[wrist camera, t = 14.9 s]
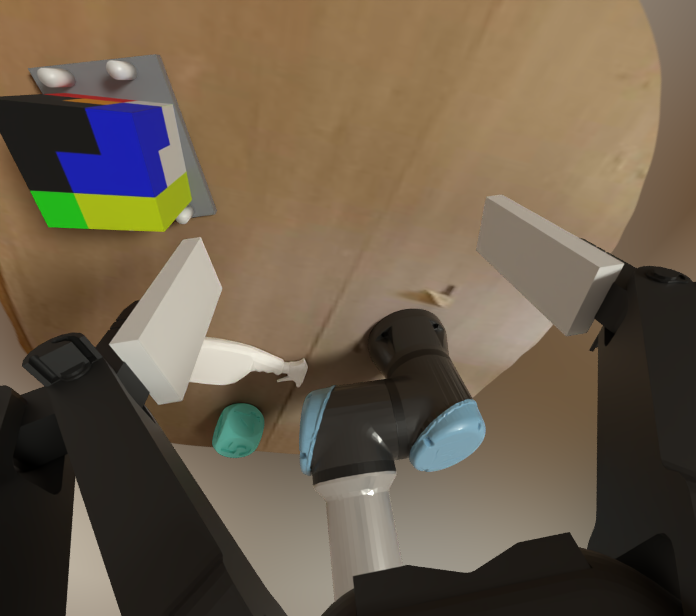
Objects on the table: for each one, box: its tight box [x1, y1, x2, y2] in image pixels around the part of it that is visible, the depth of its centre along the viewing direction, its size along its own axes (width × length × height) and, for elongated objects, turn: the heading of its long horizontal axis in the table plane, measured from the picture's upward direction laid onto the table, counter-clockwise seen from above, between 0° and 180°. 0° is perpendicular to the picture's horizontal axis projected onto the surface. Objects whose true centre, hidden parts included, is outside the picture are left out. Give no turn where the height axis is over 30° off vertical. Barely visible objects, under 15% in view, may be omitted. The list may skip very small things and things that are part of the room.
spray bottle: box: [189, 337, 308, 387], centre depth 57 cm, size 3×11×24 cm
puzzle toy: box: [0, 93, 192, 232], centre depth 30 cm, size 10×10×10 cm
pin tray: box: [28, 54, 217, 231], centre depth 33 cm, size 16×12×4 cm
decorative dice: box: [212, 403, 264, 458], centre depth 64 cm, size 8×8×8 cm
